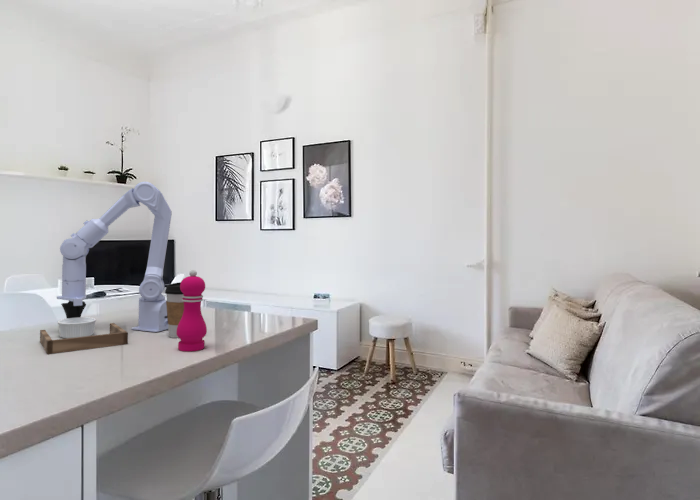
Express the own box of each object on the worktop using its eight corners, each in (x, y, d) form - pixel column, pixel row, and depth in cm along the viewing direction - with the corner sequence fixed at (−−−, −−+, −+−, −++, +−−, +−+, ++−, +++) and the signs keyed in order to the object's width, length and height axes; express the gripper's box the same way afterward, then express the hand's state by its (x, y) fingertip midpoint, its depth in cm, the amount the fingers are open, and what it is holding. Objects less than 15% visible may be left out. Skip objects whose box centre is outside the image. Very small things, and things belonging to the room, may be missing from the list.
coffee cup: (202, 334, 122) (203, 283, 122) (181, 340, 114) (182, 285, 114) (178, 331, 125) (179, 281, 124) (157, 337, 117) (158, 283, 116)
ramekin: (102, 334, 118) (102, 319, 118) (70, 340, 110) (70, 324, 110) (82, 330, 122) (83, 315, 122) (50, 336, 114) (50, 320, 114)
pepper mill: (181, 344, 109) (182, 268, 109) (209, 345, 110) (211, 269, 110) (171, 352, 102) (173, 270, 102) (202, 352, 103) (204, 271, 102)
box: (40, 341, 108) (40, 330, 108) (113, 333, 120) (113, 323, 120) (47, 354, 97) (47, 341, 97) (127, 343, 109) (127, 332, 108)
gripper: (53, 278, 123) (53, 324, 123) (61, 283, 112) (60, 333, 112) (81, 277, 128) (81, 322, 128) (91, 282, 117) (90, 330, 117)
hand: (73, 327), depth 120 cm, fingers closed
